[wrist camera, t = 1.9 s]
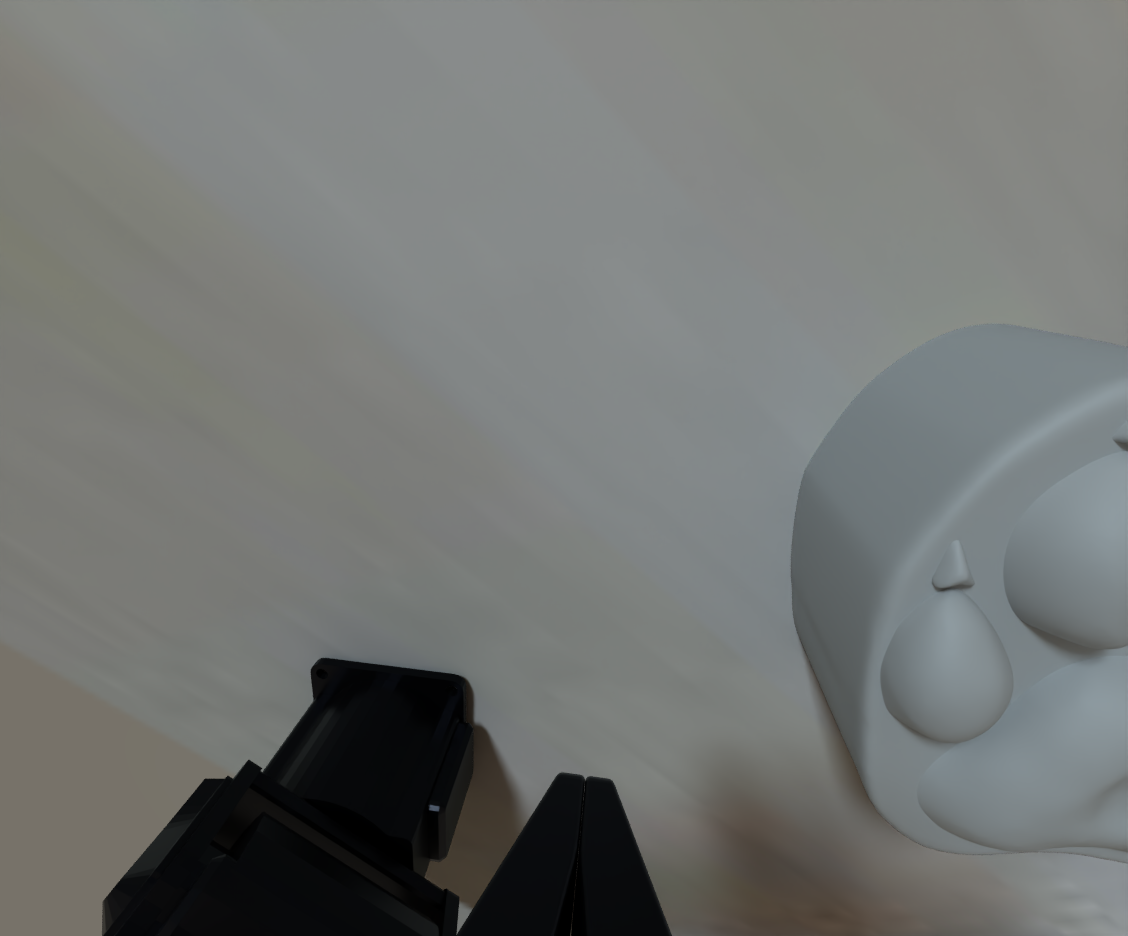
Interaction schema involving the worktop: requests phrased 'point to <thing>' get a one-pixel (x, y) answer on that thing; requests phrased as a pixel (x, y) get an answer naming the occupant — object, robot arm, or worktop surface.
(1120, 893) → the worktop surface
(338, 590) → the worktop surface
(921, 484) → the lumpy-topped squat cylinder
